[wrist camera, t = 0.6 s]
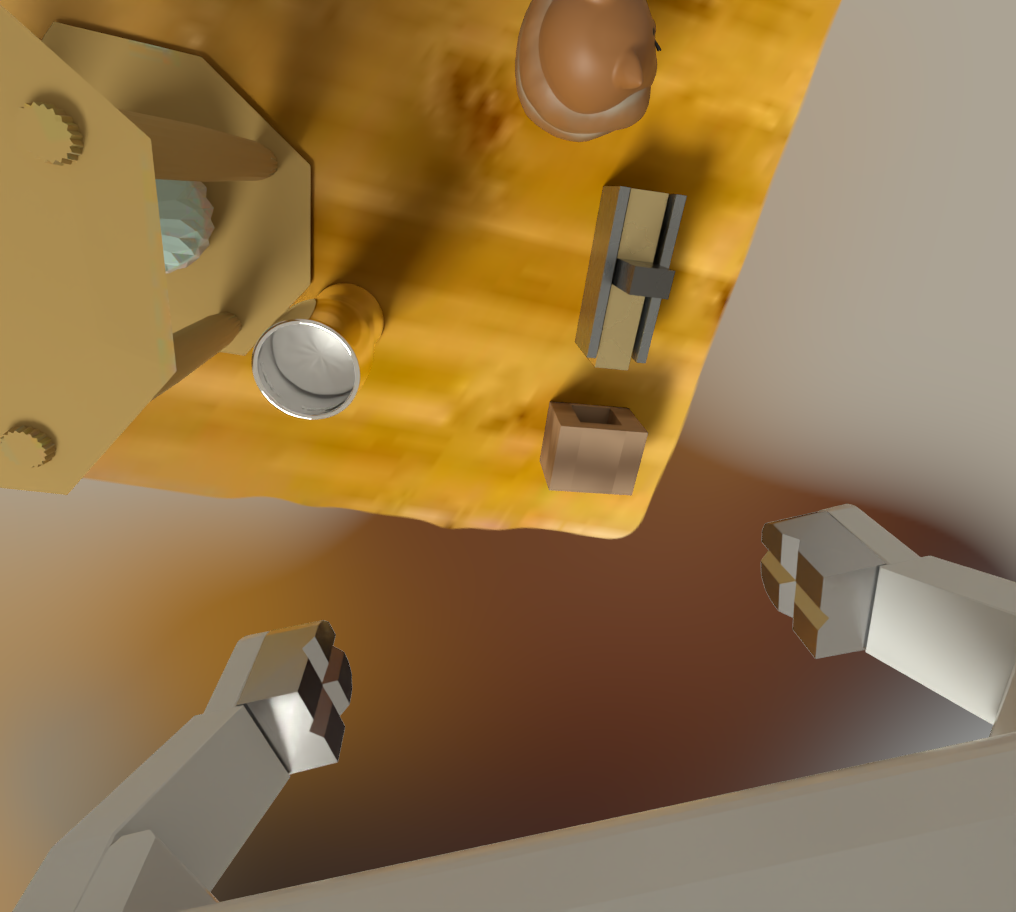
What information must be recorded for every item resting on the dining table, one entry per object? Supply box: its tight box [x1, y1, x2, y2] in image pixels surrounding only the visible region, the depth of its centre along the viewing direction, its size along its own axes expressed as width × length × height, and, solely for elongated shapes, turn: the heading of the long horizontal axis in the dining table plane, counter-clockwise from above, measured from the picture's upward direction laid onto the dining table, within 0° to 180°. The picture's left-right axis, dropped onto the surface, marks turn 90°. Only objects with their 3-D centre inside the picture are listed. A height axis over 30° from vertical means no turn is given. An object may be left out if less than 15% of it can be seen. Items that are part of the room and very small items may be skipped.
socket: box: [540, 401, 648, 495], centre depth 51 cm, size 6×8×6 cm
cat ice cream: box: [515, 0, 661, 142], centre depth 32 cm, size 9×8×18 cm
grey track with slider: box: [575, 186, 687, 363], centre depth 45 cm, size 13×5×5 cm, turn 173°
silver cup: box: [252, 283, 384, 419], centre depth 40 cm, size 7×7×15 cm
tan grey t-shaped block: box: [588, 188, 675, 370], centre depth 43 cm, size 14×3×8 cm, turn 173°
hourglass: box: [0, 5, 311, 495], centre depth 31 cm, size 24×22×25 cm
